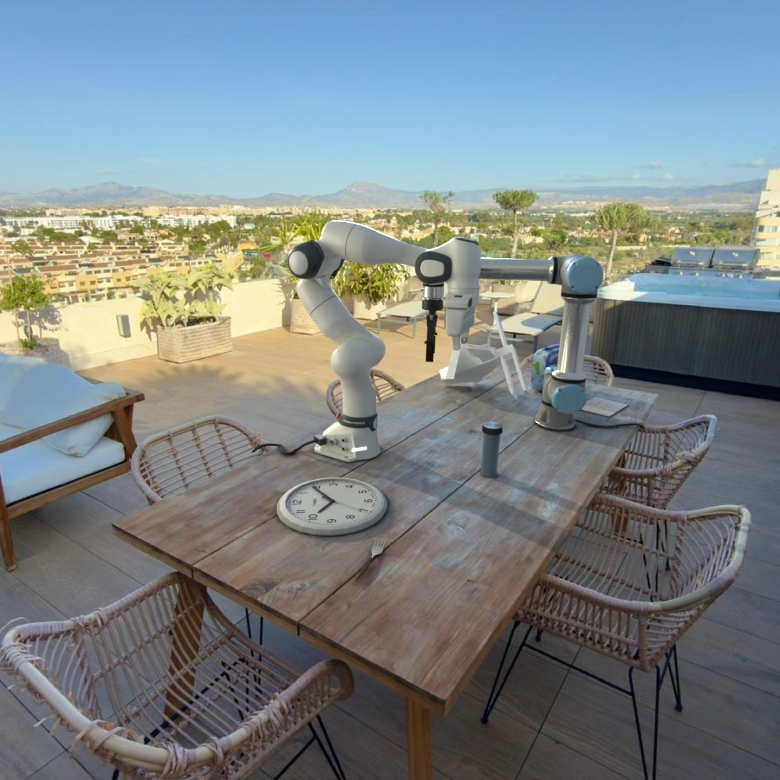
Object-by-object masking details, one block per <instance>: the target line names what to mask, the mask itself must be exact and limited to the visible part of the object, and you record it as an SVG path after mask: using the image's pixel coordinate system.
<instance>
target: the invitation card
mask: <svg viewBox="0 0 780 780" xmlns="http://www.w3.org/2000/svg"><path fill="white" fill-rule="evenodd" d="M628 406H629V404H627V403H623V402H618V401H614V400H609V399H605V398H601V397H596V396H593V397H592V398H590V399H587V401H586V404H585V406H584V407H583V408H582V409H581V410H580V411H584V412H587V413H593V414H596V415H600V416H604V417H608V418H609V417H611V416H613V415H614V414H616V413H617V412H619V411H621V410H623V409H624V408H626V407H628Z"/></svg>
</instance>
